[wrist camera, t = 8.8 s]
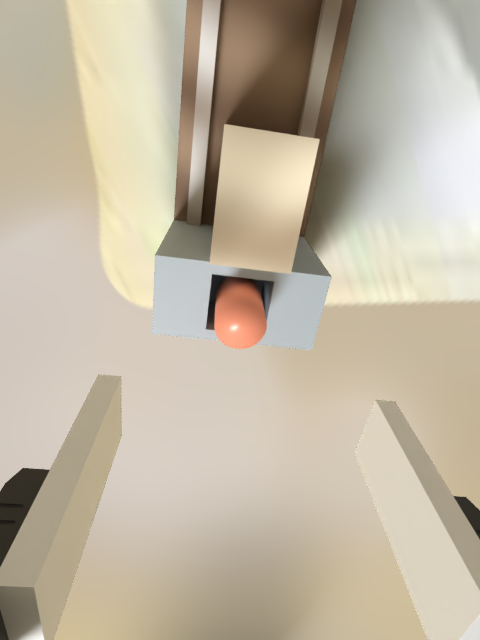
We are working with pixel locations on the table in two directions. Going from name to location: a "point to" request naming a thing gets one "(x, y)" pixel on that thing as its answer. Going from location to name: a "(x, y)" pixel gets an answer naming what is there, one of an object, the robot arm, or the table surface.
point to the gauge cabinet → (203, 278)
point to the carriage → (261, 198)
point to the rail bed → (254, 84)
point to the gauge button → (239, 313)
